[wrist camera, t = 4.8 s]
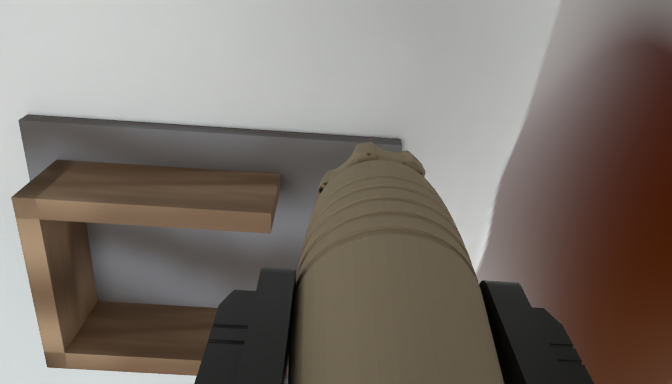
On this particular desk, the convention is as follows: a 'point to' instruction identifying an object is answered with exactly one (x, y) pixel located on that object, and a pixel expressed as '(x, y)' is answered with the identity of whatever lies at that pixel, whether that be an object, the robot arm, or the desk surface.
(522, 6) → the desk surface
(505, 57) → the desk surface
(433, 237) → the handle
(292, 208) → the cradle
